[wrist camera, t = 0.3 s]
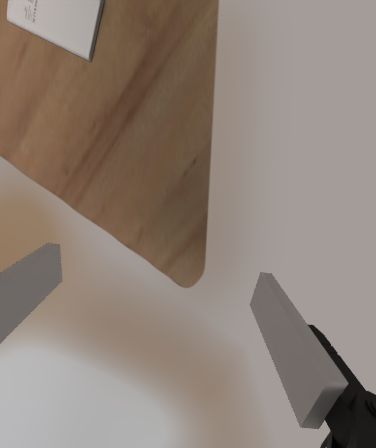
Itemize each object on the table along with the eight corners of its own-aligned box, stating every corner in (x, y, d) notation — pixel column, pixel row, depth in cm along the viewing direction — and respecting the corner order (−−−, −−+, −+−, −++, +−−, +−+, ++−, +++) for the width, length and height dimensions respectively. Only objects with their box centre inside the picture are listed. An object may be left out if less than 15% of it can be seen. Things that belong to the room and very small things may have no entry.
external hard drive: (92, 63, 32) (14, 25, 30) (106, 3, 30) (21, -42, 28) (88, 59, 31) (5, 18, 29) (101, -5, 28) (11, -54, 26)
